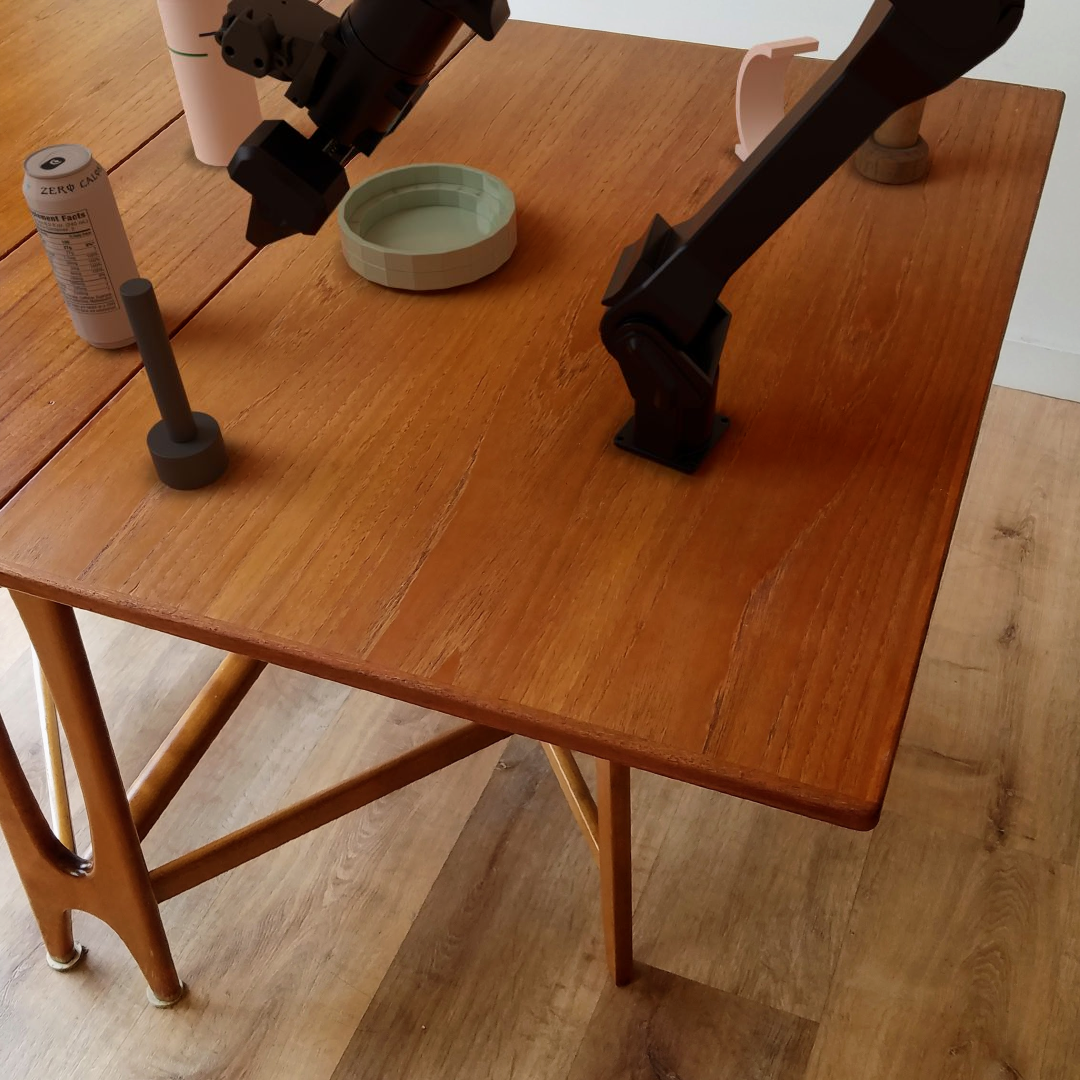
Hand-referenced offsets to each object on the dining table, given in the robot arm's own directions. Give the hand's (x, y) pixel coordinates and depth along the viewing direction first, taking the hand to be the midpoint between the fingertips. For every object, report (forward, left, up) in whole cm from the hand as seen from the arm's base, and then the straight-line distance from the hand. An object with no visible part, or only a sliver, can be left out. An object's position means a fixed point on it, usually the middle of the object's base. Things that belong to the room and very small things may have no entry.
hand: (282, 207), depth 78 cm
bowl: (+20, +3, -15) cm, 25 cm away
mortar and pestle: (+53, -27, -15) cm, 61 cm away
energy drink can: (-3, +18, -15) cm, 24 cm away
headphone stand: (+49, -16, -15) cm, 53 cm away
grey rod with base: (-12, +1, -15) cm, 19 cm away
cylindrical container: (+25, +31, -15) cm, 42 cm away
